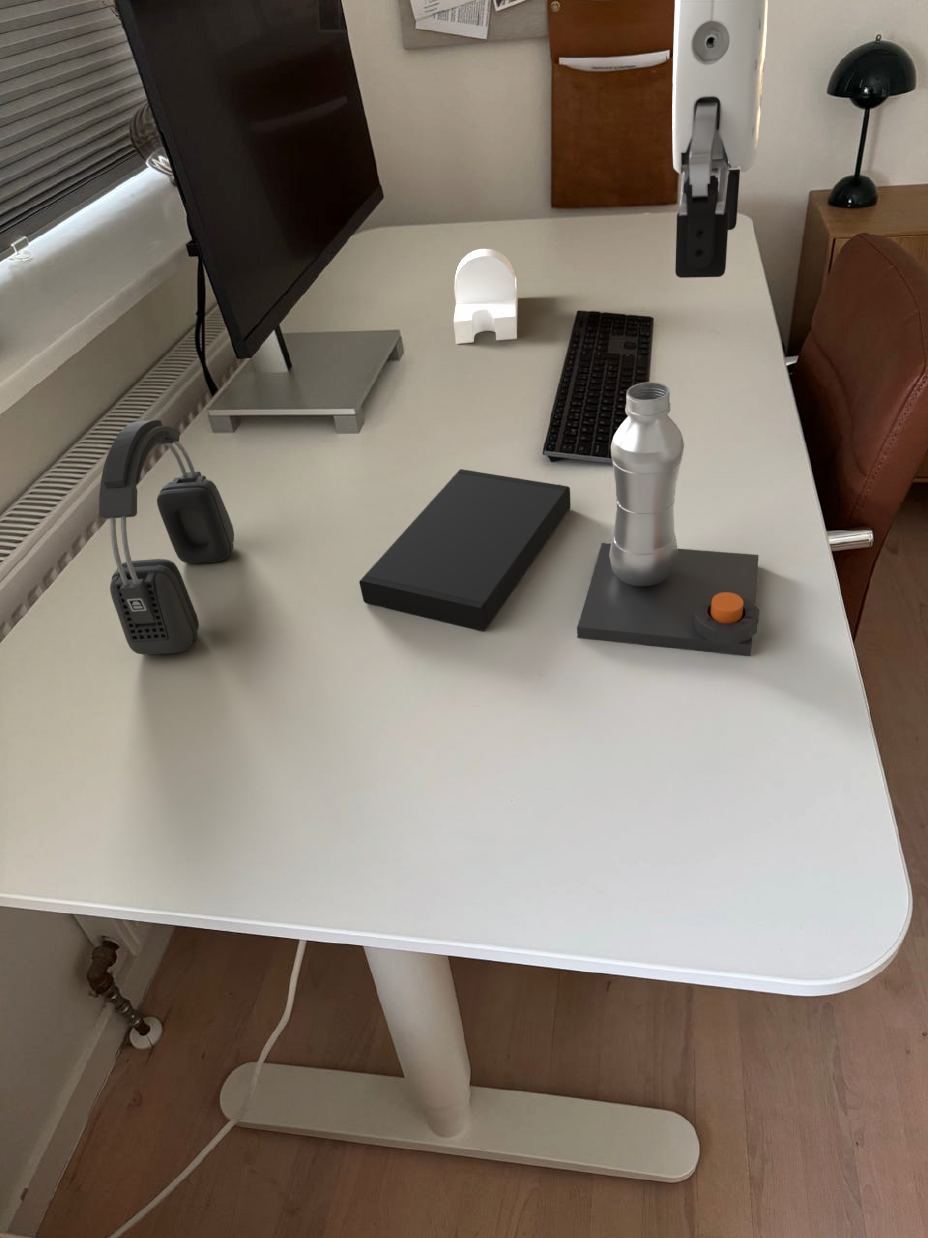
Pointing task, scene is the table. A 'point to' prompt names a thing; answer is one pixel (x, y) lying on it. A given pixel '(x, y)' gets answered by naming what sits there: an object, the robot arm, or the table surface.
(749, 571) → the scale
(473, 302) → the block with arch cutout
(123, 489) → the headphones
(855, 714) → the table surface
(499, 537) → the external hard drive
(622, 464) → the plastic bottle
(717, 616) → the button
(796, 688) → the table surface
